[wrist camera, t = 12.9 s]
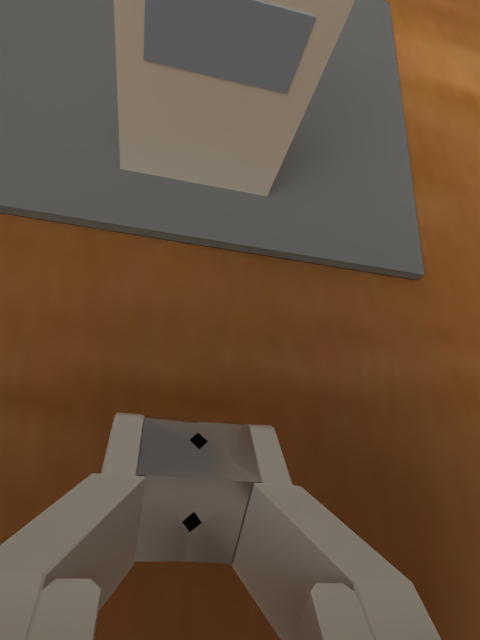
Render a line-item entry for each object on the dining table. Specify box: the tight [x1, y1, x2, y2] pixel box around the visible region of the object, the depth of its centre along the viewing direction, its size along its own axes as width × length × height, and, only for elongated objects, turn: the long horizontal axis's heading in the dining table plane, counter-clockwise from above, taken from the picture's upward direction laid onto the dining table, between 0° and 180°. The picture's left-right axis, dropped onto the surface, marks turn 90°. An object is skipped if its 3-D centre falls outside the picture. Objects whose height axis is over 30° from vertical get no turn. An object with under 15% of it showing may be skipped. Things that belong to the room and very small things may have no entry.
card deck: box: [114, 0, 355, 196], centre depth 14 cm, size 6×3×9 cm, turn 87°
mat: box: [0, 0, 425, 280], centre depth 20 cm, size 20×18×1 cm
